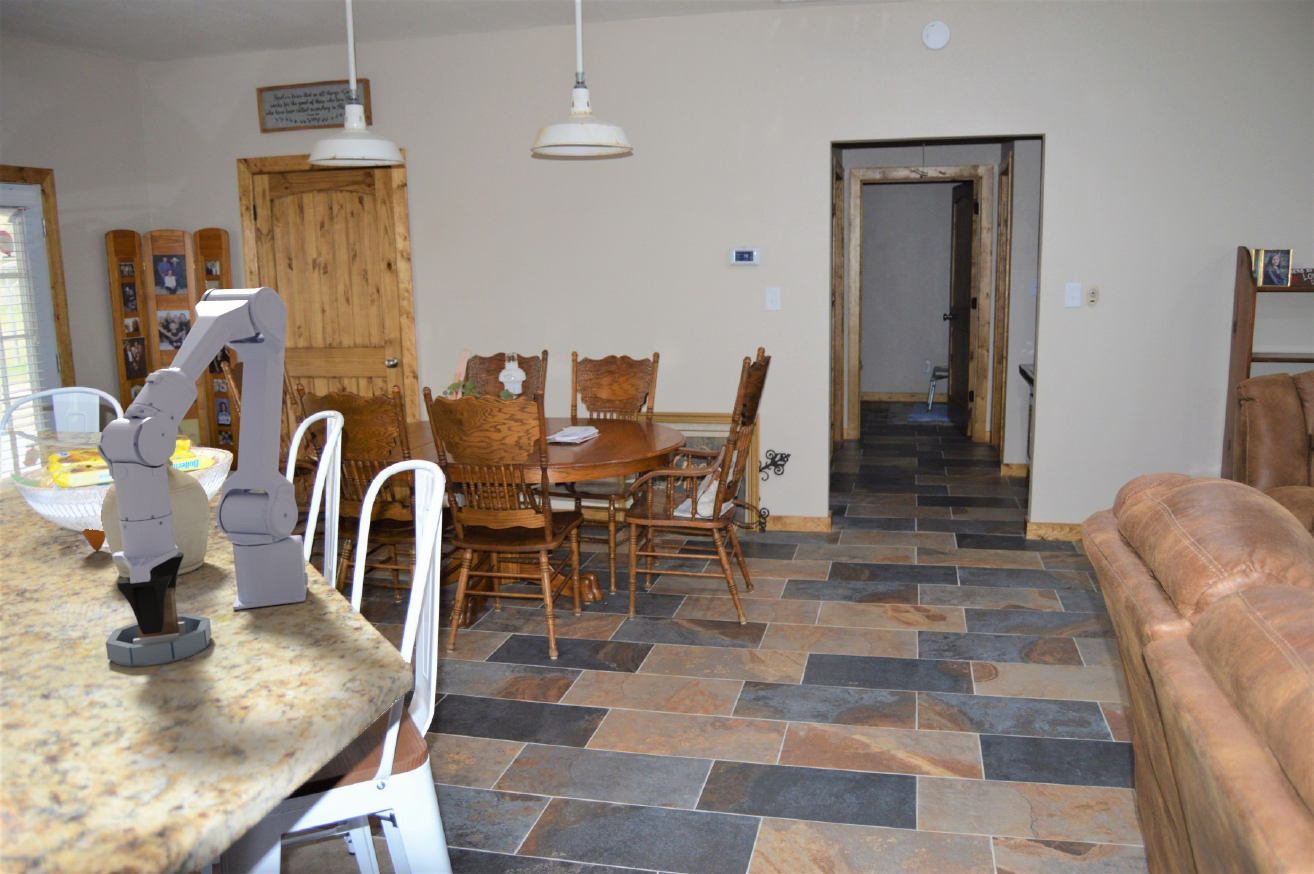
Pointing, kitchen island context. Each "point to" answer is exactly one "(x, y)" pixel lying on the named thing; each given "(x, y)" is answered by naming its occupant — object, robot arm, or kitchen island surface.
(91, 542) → the carrot
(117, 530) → the jug
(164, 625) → the wooden rectangular block
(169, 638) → the blue-grey octagonal tray
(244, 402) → the robot arm
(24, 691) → the kitchen island surface
